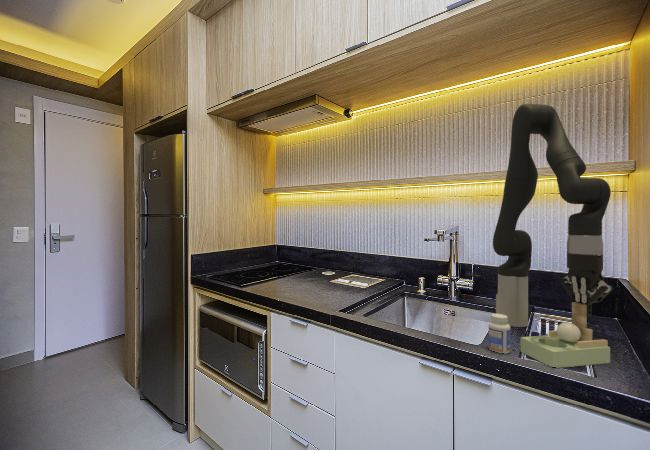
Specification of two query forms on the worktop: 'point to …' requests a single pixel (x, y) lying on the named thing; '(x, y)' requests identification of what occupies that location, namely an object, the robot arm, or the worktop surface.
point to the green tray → (565, 350)
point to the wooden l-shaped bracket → (581, 320)
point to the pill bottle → (499, 334)
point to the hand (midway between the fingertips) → (584, 316)
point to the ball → (569, 332)
